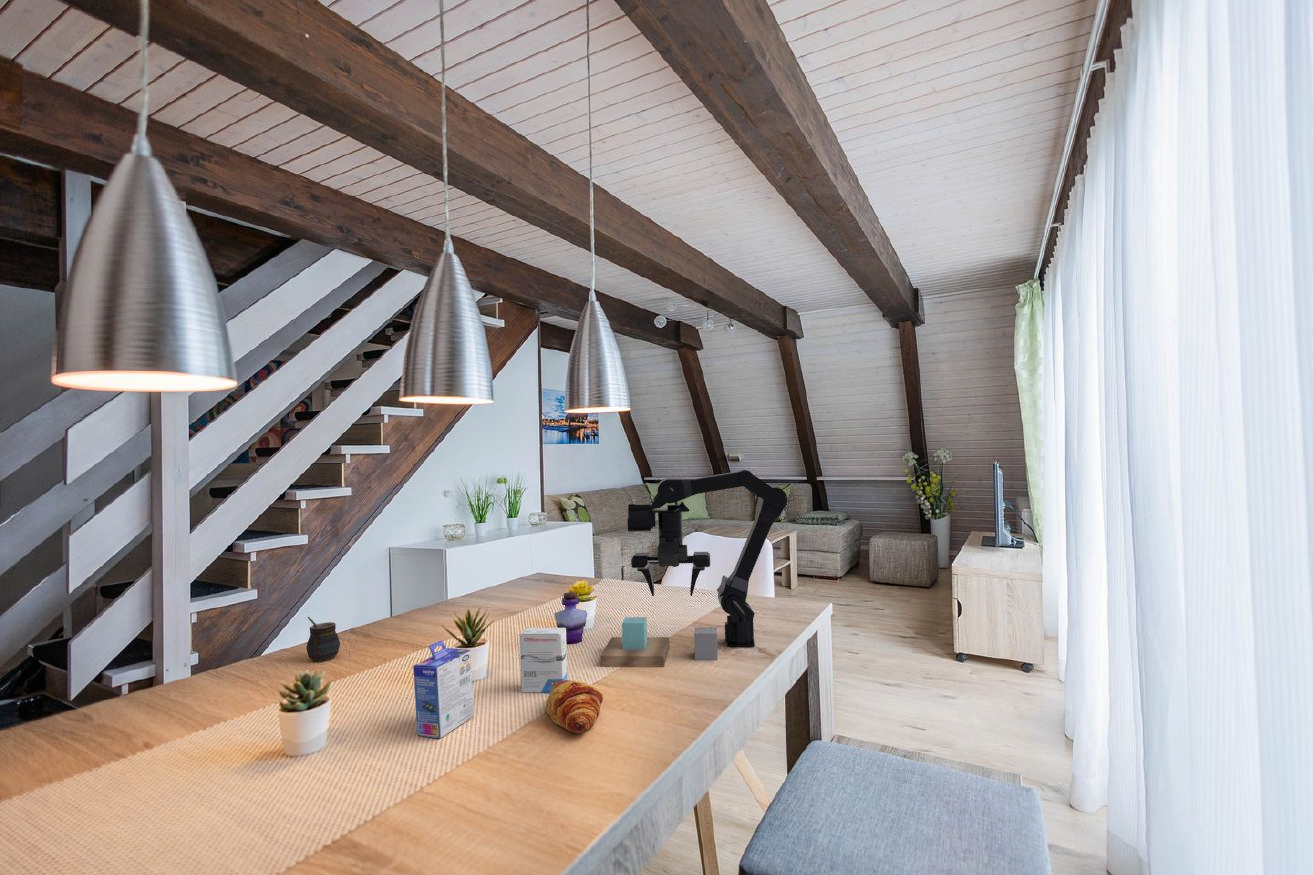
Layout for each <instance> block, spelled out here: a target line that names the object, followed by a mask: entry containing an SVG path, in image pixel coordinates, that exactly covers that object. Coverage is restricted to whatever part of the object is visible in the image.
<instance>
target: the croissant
mask: <svg viewBox="0 0 1313 875" xmlns="http://www.w3.org/2000/svg"><path fill="white" fill-rule="evenodd" d="M548 694H549V695H547V700H546V702H545V713H546V714H547V715H548V716H550V720H551V721H552V722H553V724H555V725H557V726H560V727H562V728H563V729H565V730H567V731H568V732H569V733H570V732H571V733H573V734H582V733H583V732H586V731H587V730H590V729H591V728H593V727H594V725H595V723H596V721H597V719H598V718H599V715H600V712H601V705H602V704H603V700H604V696H603V693H602V692H601V691H600V690H599V688H598V687H597V686H596V685H594V684H593V683H588V682H585V681H582V680H578V681H577V680H571V679H567V680H564V681H560V682H558V683H556V684H555V686H554V687H553V688H552V691H551V692H549V693H548Z"/></svg>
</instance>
